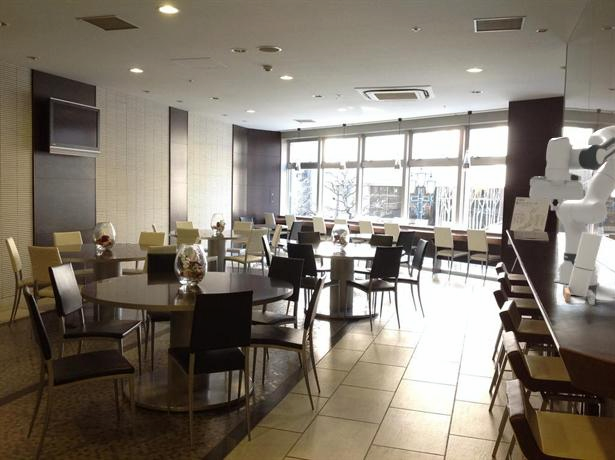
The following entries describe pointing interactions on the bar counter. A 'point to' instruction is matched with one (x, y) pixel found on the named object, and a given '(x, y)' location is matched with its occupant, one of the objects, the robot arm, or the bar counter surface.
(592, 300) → the vise fixed jaw
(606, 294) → the bar counter surface
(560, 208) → the robot arm
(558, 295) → the bar counter surface
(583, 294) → the white tall box
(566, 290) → the sliding jaw
